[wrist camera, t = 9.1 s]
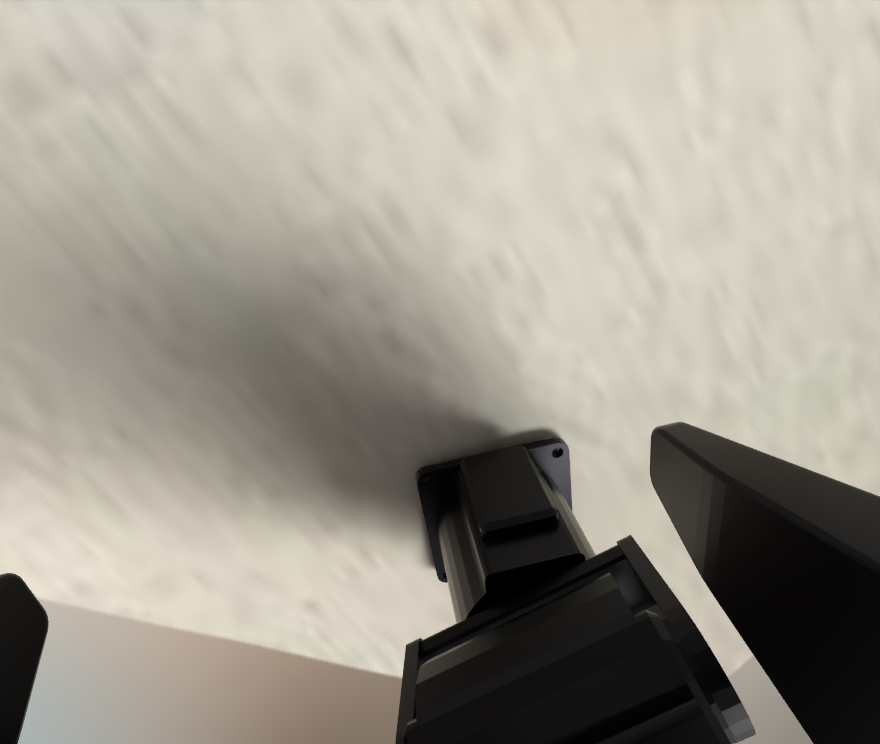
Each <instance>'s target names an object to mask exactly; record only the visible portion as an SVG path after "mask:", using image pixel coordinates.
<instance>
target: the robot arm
mask: <svg viewBox="0 0 880 744" xmlns="http://www.w3.org/2000/svg"><path fill="white" fill-rule="evenodd" d="M556 448H560V449H559V450H558V451H557V452H552V451H553V450H554V449H556ZM427 477H433V478H432V479H431V480H429V481H425V480H424V479H425V478H427ZM650 477H651V481H652V484H653V487H654V489H655V491H656V493H657V495H658V496H659V498H660V500H661V502H662V504H663V506H664V508H665V510H666V511H667V513H668V515H669V517H670V519H671V521H672V523H673V525H674V527H675V528H676V530H677V532H678V534H679V536H680V538H681V540H682V542H683V544H684V545H685V547H686V549H687V551H688V553H689V555H690V557H691V559H692V561H693V562H694V564H695V566H696V568H697V570H698V571H699V573H700V575H701V577H702V578H703V580H704V581H705V583H706V585H707V586H708V588H709V589H710V591H711V592H712V594H713V595H714V597H715V598H716V600H717V601H718V603H719V604H720V606H721V607H722V609H723V610H724V612H725V613H726V615H727V616H728V618H729V619H730V621H731V622H732V624H733V625H734V626H735V628H736V629H737V631H738V632H739V634H740V635H741V637H742V638H743V640H744V641H745V643H746V644H747V646H748V647H749V649H750V650H751V652H752V653H753V655H754V656H755V658H756V659H757V660H758V662H759V663H760V665H761V666H762V668H763V669H764V671H765V672H766V674H767V675H768V677H769V678H770V680H771V681H772V683H773V684H774V686H775V687H776V689H777V690H778V692H779V693H780V694H781V696H782V697H783V699H784V700H785V702H786V703H787V705H788V706H789V708H790V709H791V711H792V712H793V714H794V715H795V717H796V718H797V720H798V721H799V723H800V724H801V726H802V727H803V729H804V730H805V731H806V733H807V734H808V736H809V737H810V739H811V740H812V742H813V743H814V744H880V496H877V495H874V494H872V493H869V492H866V491H864V490H861V489H858V488H856V487H853V486H850V485H848V484H845V483H843V482H840V481H837V480H835V479H832V478H829V477H827V476H824V475H821V474H819V473H816V472H813V471H811V470H808V469H806V468H803V467H800V466H798V465H795V464H792V463H790V462H787V461H784V460H782V459H779V458H776V457H774V456H771V455H769V454H766V453H763V452H761V451H758V450H755V449H753V448H750V447H747V446H745V445H742V444H739V443H737V442H734V441H732V440H729V439H726V438H724V437H721V436H718V435H716V434H713V433H710V432H708V431H705V430H702V429H700V428H697V427H695V426H692V425H689V424H687V423H683V422H676V423H672V424H667V425H663V426H658V427H656V428H655V429H654V430H653V432H652V435H651V454H650ZM416 481H417V486H418V490H419V495H420V500H421V504H422V509H423V513H424V518H425V522H426V527H427V531H428V536H429V540H430V545H431V549H432V554H433V558H434V563H435V567H436V572H437V576H438V579H439V580H440V581H442V582H445V583H446V582H448V585H449V590H450V594H451V599H452V604H453V608H454V613H455V618H456V622H457V624H455V625H453V626H450V627H448V628H446V629H444V630H442V631H440V632H438V633H436V634H434V635H432V636H430V637H428V638H426V639H424V640H422V639H421V638H419V639H417V640H415V641H413V642H411V643H409V644H407V645H406V651H405V660H404V669H403V678H402V688H401V697H400V706H399V715H398V725H397V733H396V744H733V743H737V742H740V741H742V740H744V739H746V738H749V737H751V736H753V735H755V734H756V733H755V730H754V727H753V725H752V723H751V720H750V718H749V716H748V714H747V712H746V711H745V709H744V706H743V705H742V703H741V701H740V699H739V697H738V695H737V694H736V692H735V690H734V688H733V686H732V684H731V683H730V681H729V679H728V677H727V676H726V674H725V672H724V671H723V669H722V667H721V665H720V664H719V662H718V660H717V659H716V657H715V655H714V654H713V652H712V650H711V649H710V647H709V646H708V644H707V642H706V641H705V639H704V638H703V636H702V634H701V633H700V631H699V630H698V628H697V627H696V625H695V623H694V622H693V620H692V619H691V617H690V616H689V614H688V613H687V612H686V610H685V609H684V607H683V606H682V604H681V603H680V602H679V600H678V599H677V598H676V596H675V595H674V593H673V592H672V591H671V589H670V588H669V587H668V585H667V584H666V582H665V581H664V580H663V578H662V577H661V576H660V574H659V573H658V572H657V570H656V569H655V567H654V566H653V565H652V563H651V562H650V561H649V559H648V558H647V556H646V555H645V554H644V552H643V551H642V550H641V548H640V547H639V546H638V544H637V543H636V541H635V540H634V539H633V537H632V536H631V535H630V536H628V537H626V538H624V539H622V540H619V541H617V544H618V545H616V546H614V547H612V548H610V549H608V550H606V551H604V552H602V553H600V554H598V555H595V553H594V551H593V550H592V548H591V546H590V544H589V542H588V540H587V538H586V537H585V535H584V533H583V531H582V529H581V527H580V526H579V524H578V522H577V520H576V518H575V516H574V514H573V513H572V498H571V479H570V459H569V449H568V446H567V445H566V443H565V441H564V440H563V439H561V438H551V439H547V440H542V441H538V442H533V443H529V444H524V445H518V446H514V447H510V448H505V449H501V450H496V451H492V452H487V453H483V454H478V455H474V456H469V457H465V458H461V459H457V460H452V461H448V462H443V463H439V464H434V465H430V466H426V467H423V468H421V469H420V470H419V471H418V472H417V474H416ZM47 632H48V616H47V614H46V611H45V609H44V608H43V606H42V605H41V604H40V602H39V601H38V600H37V598H36V597H35V596H34V594H33V593H32V592H31V590H30V589H29V588H28V586H27V585H26V583H25V582H24V581H23V579H22V578H21V577H20V576H18V575H16V574H13V573H6V574H2V575H0V744H17V743H18V740H19V737H20V733H21V730H22V726H23V723H24V719H25V715H26V711H27V707H28V703H29V700H30V696H31V692H32V688H33V684H34V681H35V677H36V673H37V670H38V665H39V662H40V658H41V654H42V651H43V647H44V643H45V639H46V635H47Z"/></svg>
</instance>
